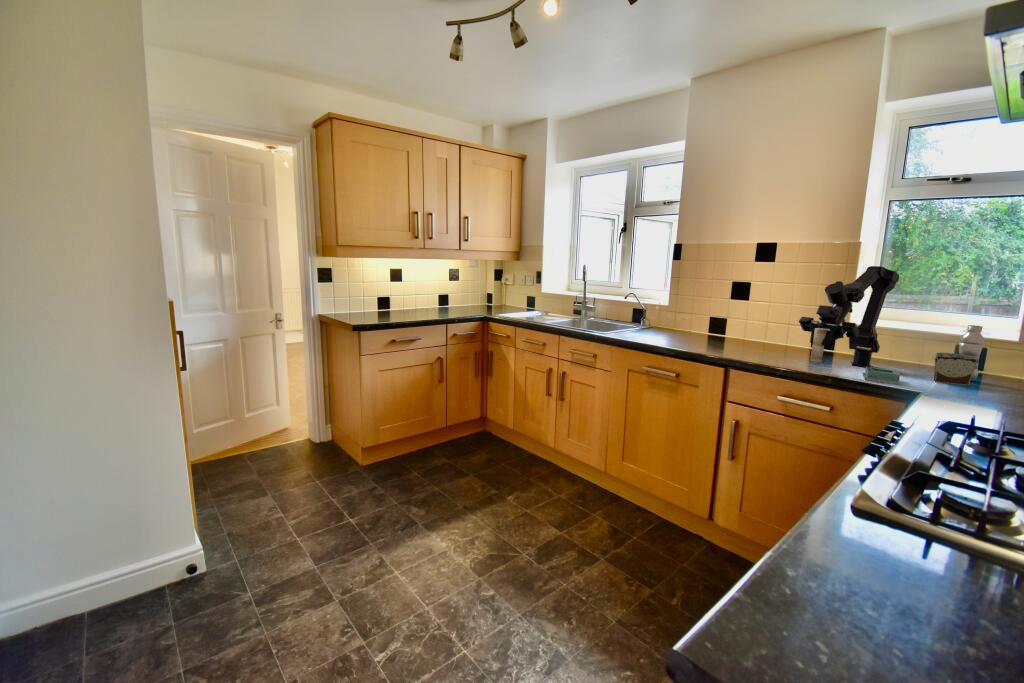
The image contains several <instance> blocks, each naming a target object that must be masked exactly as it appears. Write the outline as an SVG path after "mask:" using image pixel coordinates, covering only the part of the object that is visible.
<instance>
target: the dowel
mask: <svg viewBox="0 0 1024 683" xmlns="http://www.w3.org/2000/svg"><path fill="white" fill-rule="evenodd" d="M826 336H827V329H820V328H815V332H814V338H813V343H812V344H811V345H812V346H811V352H810V357H809V358H810V359H809V361H810V362H814V363H822V361H823V356H824V350H825V345H824V346H823V345H822V342H823V340H824V338H825V337H826Z"/></svg>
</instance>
